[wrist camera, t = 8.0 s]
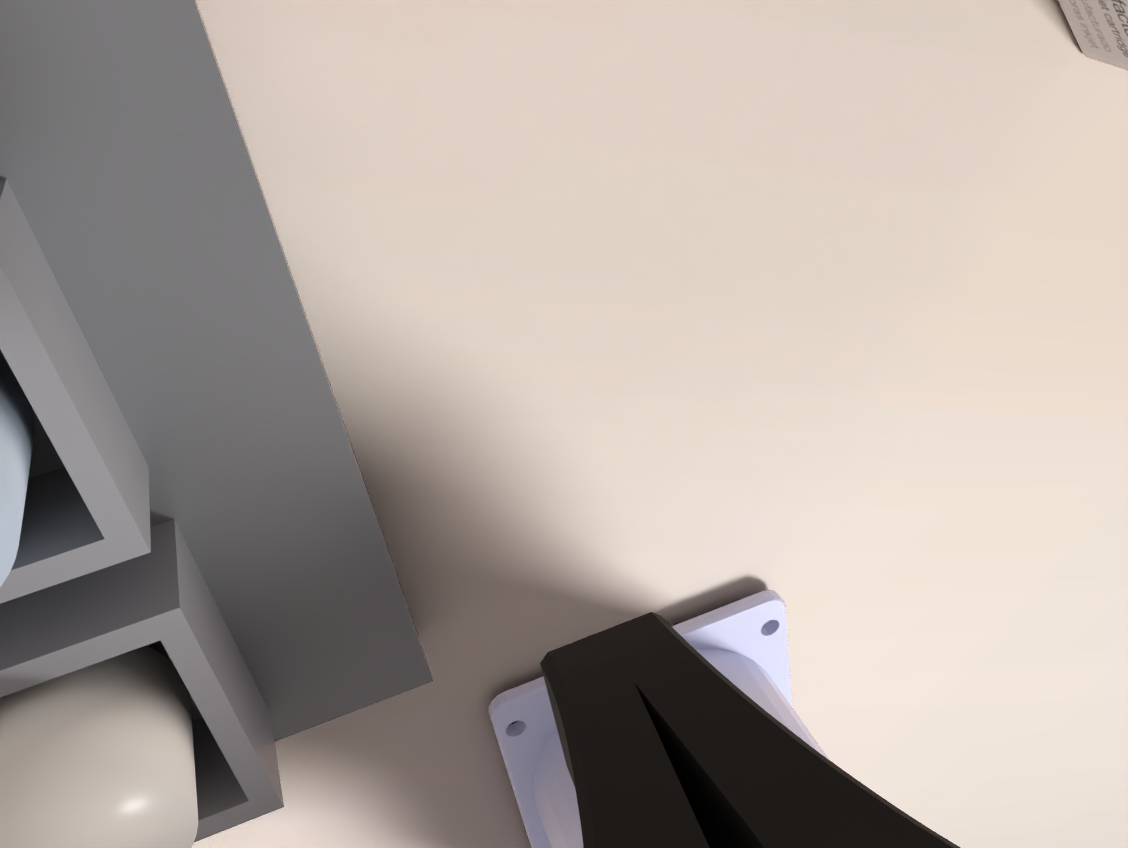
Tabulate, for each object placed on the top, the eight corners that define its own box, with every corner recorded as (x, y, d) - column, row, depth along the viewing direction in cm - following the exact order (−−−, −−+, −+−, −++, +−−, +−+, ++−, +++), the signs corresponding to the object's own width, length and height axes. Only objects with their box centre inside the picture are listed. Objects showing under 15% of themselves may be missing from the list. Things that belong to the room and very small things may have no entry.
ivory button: (218, 739, 20) (229, 859, 18) (27, 812, 20) (15, 945, 18) (146, 607, 18) (148, 724, 16) (-69, 683, 18) (-98, 815, 16)
